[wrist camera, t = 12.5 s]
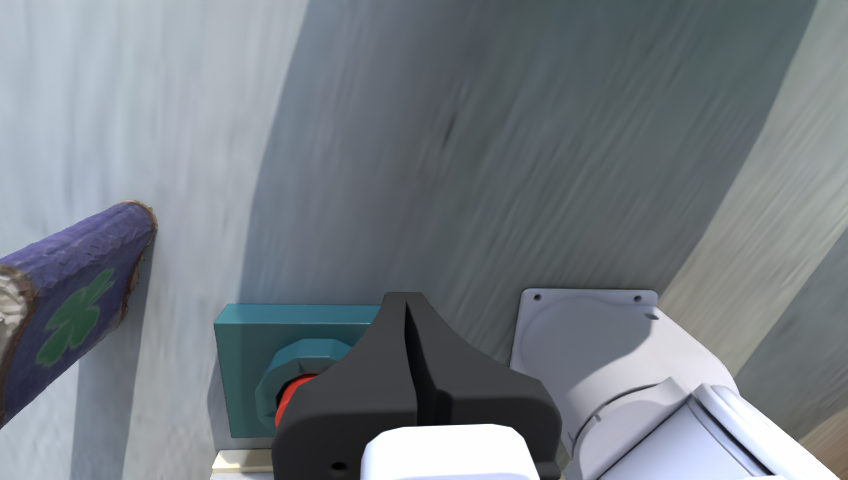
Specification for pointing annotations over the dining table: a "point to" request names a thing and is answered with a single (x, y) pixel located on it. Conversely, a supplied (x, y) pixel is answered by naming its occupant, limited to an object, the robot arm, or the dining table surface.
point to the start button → (289, 392)
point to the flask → (66, 298)
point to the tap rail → (243, 465)
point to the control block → (279, 354)
